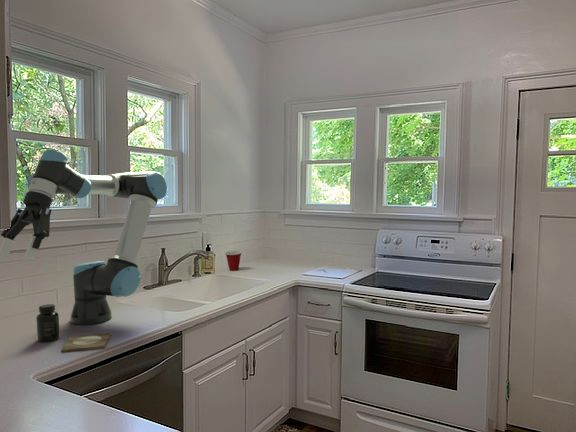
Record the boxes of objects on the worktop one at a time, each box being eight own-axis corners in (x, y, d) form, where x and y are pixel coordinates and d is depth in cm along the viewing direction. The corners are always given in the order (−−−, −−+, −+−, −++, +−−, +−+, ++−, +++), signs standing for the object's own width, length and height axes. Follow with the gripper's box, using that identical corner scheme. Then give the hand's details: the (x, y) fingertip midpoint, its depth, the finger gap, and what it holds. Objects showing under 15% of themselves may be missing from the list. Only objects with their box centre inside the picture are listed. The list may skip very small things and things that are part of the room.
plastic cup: (222, 271, 280) (221, 252, 279) (229, 268, 290) (229, 250, 290) (237, 272, 277) (237, 253, 276) (244, 269, 287) (244, 250, 286)
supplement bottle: (63, 336, 156) (61, 302, 156) (53, 342, 150) (52, 308, 149) (43, 336, 156) (42, 303, 155) (33, 343, 149) (31, 308, 149)
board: (71, 338, 154) (71, 335, 154) (110, 334, 157) (110, 332, 157) (61, 352, 140) (60, 349, 140) (104, 348, 143) (104, 345, 143)
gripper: (5, 192, 141) (-22, 255, 133) (55, 186, 130) (29, 254, 122) (26, 202, 147) (2, 262, 140) (76, 197, 136) (52, 263, 128)
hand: (14, 259), depth 131 cm, fingers open, 13 cm apart
